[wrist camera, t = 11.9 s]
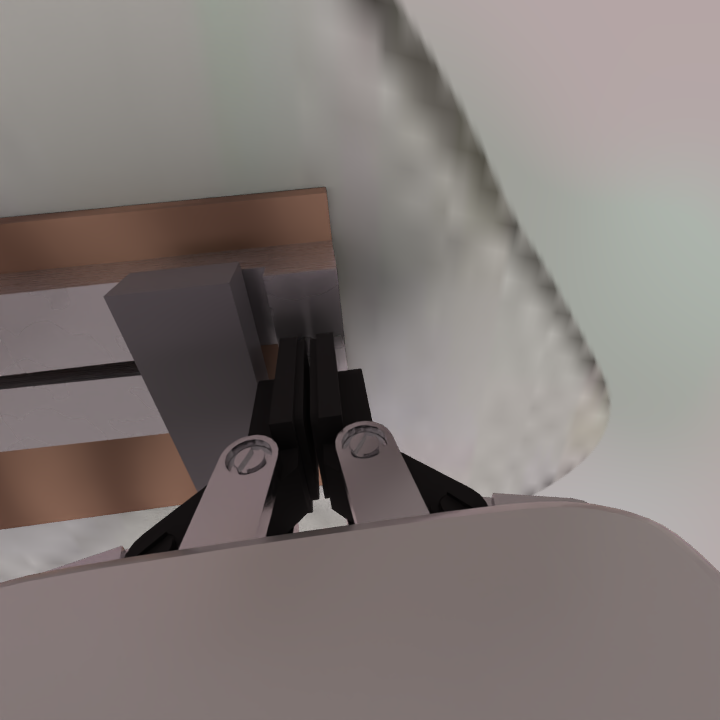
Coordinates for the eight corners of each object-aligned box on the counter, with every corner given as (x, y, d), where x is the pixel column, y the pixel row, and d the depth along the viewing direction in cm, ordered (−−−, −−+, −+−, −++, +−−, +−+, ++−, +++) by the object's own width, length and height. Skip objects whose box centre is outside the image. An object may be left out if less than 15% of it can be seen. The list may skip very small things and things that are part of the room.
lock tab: (207, 457, 15) (197, 492, 13) (129, 273, 10) (103, 296, 9) (286, 447, 15) (283, 480, 13) (238, 261, 11) (229, 283, 9)
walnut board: (-56, 519, 21) (-74, 539, 20) (-359, 252, 13) (-416, 264, 12) (356, 463, 22) (358, 480, 21) (325, 187, 14) (326, 192, 13)
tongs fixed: (-157, 449, 16) (-241, 510, 14) (-328, 304, 13) (-486, 352, 10) (348, 387, 18) (354, 432, 15) (331, 237, 14) (336, 264, 11)
